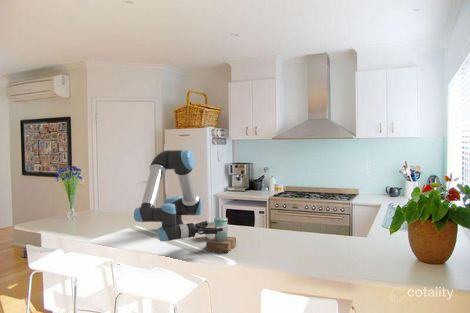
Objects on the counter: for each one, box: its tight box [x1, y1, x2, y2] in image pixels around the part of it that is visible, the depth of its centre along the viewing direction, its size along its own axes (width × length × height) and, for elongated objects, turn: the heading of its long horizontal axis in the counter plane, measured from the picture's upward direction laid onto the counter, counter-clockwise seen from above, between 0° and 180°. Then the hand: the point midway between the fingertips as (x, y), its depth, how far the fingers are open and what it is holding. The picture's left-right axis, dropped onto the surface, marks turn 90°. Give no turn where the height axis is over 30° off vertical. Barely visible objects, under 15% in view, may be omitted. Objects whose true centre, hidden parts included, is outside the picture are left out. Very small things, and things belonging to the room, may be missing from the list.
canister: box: [213, 216, 228, 242], centre depth 197 cm, size 8×8×12 cm
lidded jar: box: [204, 226, 215, 240], centre depth 218 cm, size 11×11×9 cm
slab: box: [205, 236, 237, 253], centre depth 198 cm, size 13×13×5 cm
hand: (222, 225), depth 198 cm, fingers open, 13 cm apart
